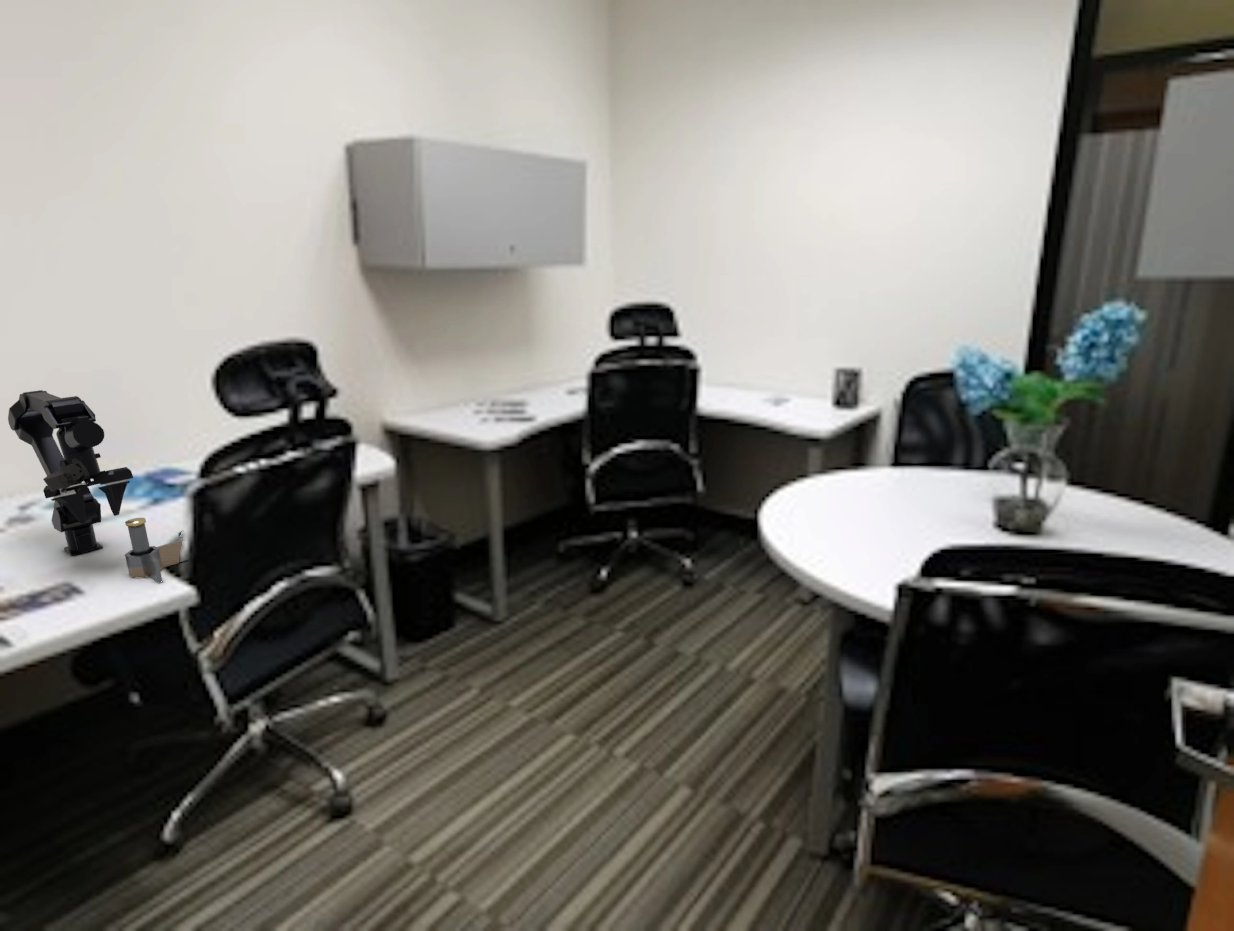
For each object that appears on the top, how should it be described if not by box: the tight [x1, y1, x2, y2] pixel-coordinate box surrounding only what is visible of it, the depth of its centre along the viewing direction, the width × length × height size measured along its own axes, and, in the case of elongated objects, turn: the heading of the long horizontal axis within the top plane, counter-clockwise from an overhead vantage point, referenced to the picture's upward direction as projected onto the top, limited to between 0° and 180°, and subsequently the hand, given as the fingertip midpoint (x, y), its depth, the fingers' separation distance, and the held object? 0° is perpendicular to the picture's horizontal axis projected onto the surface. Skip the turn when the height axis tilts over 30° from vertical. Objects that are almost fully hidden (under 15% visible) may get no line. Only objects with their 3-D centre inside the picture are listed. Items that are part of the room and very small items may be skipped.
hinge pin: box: [124, 517, 151, 556], centre depth 164 cm, size 4×4×12 cm
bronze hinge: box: [124, 539, 184, 583], centre depth 165 cm, size 12×12×5 cm
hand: (99, 519), depth 167 cm, fingers open, 9 cm apart
